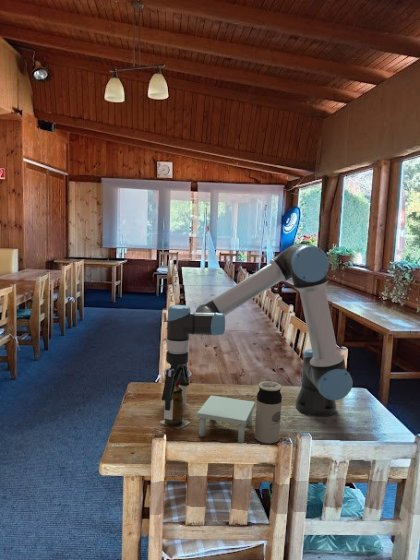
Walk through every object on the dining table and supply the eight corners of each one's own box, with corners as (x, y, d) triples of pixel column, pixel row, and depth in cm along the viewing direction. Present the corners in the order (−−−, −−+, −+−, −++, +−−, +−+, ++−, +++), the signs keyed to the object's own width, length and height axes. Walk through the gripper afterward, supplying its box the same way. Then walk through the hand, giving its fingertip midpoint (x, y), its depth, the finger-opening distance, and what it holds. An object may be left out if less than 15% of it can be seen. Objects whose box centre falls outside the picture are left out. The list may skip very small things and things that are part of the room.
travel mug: (250, 434, 148) (253, 382, 146) (270, 431, 152) (273, 379, 149) (262, 445, 141) (266, 391, 139) (283, 441, 144) (287, 388, 142)
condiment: (172, 416, 160) (173, 383, 159) (191, 422, 155) (192, 389, 154) (158, 422, 154) (159, 389, 153) (177, 430, 150) (178, 395, 148)
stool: (253, 423, 156) (255, 401, 155) (244, 444, 141) (245, 420, 140) (209, 416, 161) (210, 395, 160) (196, 436, 146) (197, 412, 145)
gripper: (179, 340, 165) (177, 396, 167) (152, 359, 141) (150, 423, 143) (199, 343, 163) (196, 399, 165) (174, 362, 139) (172, 427, 141)
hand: (175, 410), depth 154 cm, fingers open, 13 cm apart
